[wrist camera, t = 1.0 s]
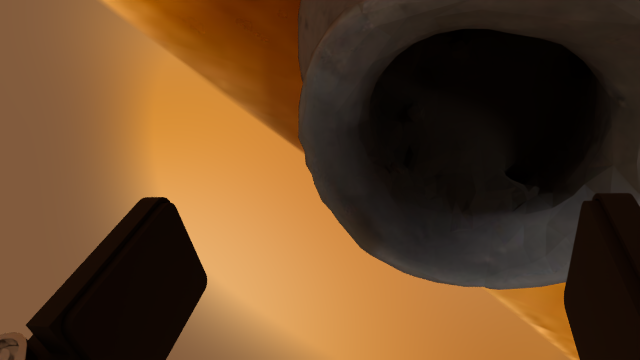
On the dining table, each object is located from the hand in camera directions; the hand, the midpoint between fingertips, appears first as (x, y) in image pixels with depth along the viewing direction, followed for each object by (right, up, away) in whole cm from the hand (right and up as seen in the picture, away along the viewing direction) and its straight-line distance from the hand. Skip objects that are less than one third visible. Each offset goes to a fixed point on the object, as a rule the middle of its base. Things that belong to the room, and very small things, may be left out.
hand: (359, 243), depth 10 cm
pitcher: (+10, +16, +24) cm, 30 cm away
